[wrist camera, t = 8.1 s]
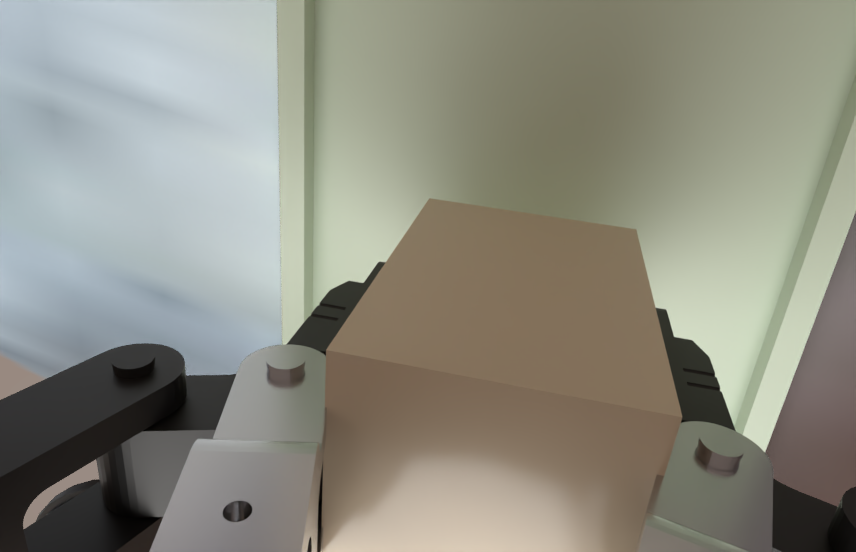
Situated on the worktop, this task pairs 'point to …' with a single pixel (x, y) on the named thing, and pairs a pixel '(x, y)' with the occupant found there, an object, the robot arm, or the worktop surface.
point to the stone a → (498, 391)
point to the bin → (586, 150)
